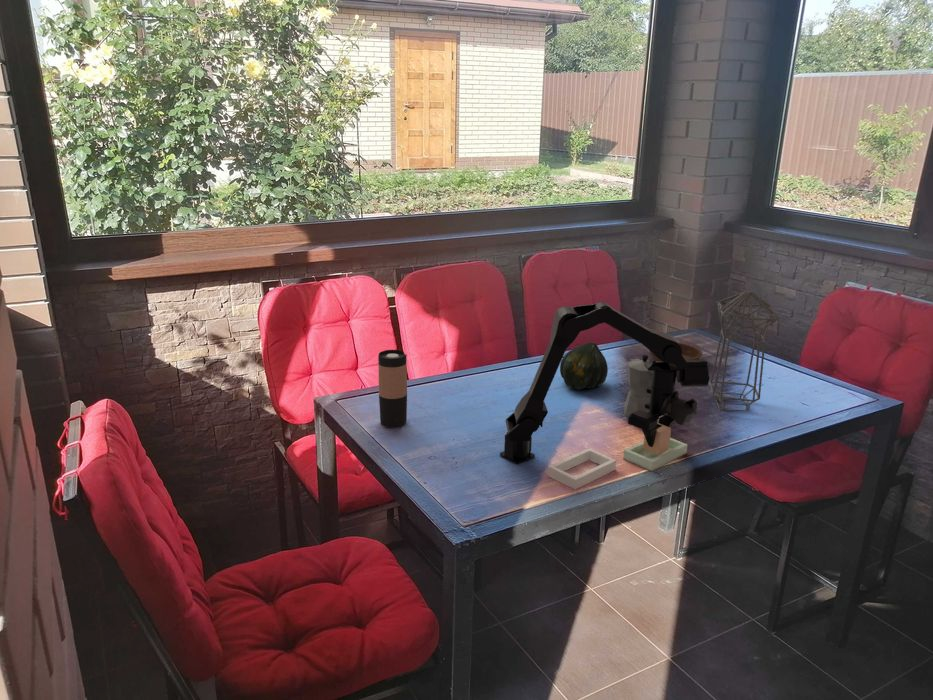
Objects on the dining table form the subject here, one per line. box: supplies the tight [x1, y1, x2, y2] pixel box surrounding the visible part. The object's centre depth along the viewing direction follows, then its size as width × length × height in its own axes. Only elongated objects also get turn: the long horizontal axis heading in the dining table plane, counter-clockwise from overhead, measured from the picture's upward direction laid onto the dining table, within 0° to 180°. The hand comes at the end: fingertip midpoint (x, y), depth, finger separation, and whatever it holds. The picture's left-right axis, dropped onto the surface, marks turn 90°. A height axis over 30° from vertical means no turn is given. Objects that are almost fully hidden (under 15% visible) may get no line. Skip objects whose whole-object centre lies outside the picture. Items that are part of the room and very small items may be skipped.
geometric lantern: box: [709, 290, 781, 413], centre depth 213 cm, size 16×16×35 cm
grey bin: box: [547, 447, 617, 490], centre depth 178 cm, size 15×8×2 cm, turn 131°
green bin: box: [622, 437, 688, 472], centre depth 187 cm, size 15×8×2 cm, turn 131°
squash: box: [559, 341, 609, 390], centre depth 230 cm, size 14×15×15 cm
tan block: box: [643, 423, 672, 455], centre depth 185 cm, size 4×4×6 cm
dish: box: [648, 342, 703, 364], centre depth 253 cm, size 18×22×5 cm
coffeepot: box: [623, 354, 652, 418], centre depth 207 cm, size 15×9×18 cm, turn 19°
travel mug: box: [377, 349, 408, 429], centre depth 200 cm, size 8×8×20 cm
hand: (656, 443), depth 186 cm, fingers closed on tan block, 4 cm apart
